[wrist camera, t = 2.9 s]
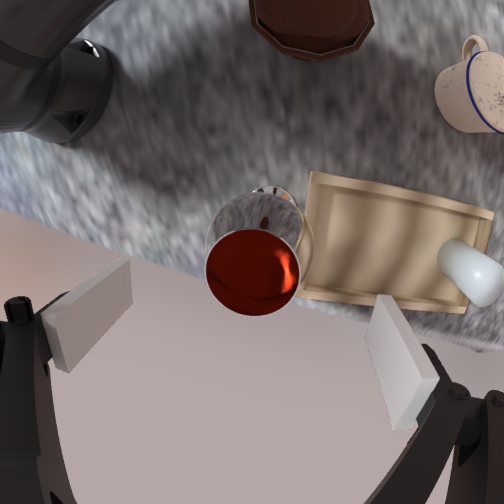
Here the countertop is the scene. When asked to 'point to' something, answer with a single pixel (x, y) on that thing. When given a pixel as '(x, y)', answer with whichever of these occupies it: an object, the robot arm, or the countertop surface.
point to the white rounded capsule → (471, 271)
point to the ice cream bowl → (313, 26)
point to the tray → (386, 243)
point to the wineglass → (258, 252)
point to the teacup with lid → (473, 90)
